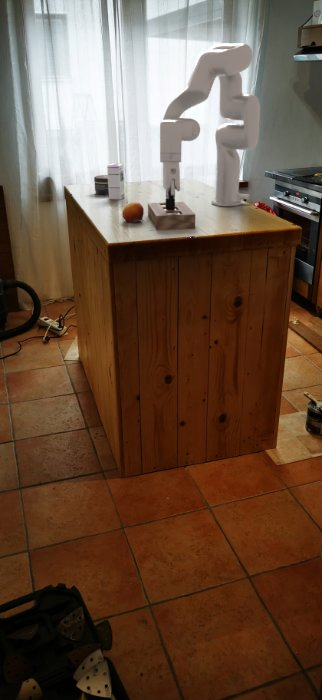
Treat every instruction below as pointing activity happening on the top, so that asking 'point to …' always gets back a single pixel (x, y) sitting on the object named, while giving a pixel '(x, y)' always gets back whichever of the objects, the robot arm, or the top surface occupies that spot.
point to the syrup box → (115, 181)
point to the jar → (101, 184)
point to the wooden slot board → (171, 216)
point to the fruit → (133, 212)
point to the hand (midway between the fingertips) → (170, 209)
